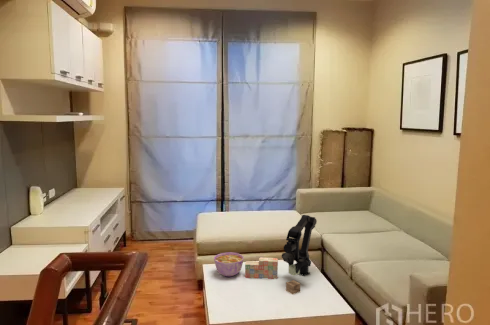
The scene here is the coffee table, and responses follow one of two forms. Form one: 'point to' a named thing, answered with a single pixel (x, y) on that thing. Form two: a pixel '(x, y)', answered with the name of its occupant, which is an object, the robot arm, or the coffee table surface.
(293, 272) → the sage cube
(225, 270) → the bowl of food
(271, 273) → the stack of blocks
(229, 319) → the coffee table surface
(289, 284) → the walnut base
